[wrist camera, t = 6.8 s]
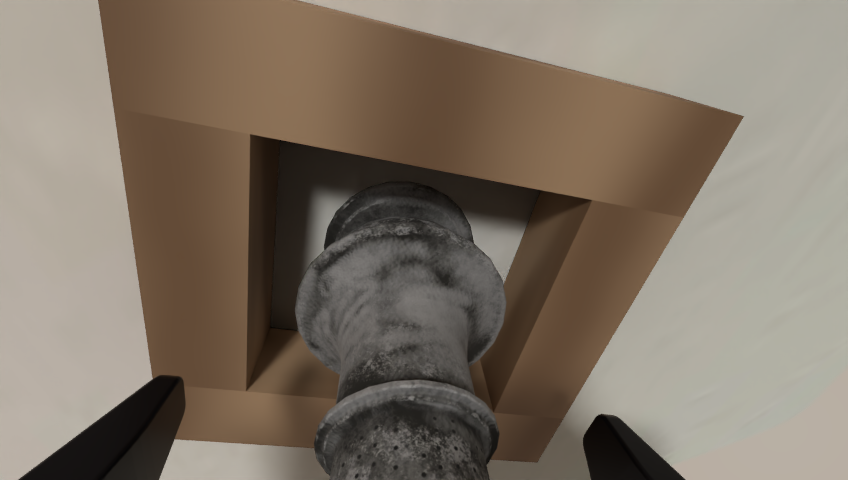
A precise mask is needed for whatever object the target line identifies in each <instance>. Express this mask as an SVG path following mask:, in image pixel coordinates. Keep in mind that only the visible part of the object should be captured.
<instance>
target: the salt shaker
mask: <svg viewBox="0 0 848 480" xmlns="http://www.w3.org/2000/svg"><path fill="white" fill-rule="evenodd" d="M506 303H507V302H506V296H505V291H504V286H503V281H502V279H501V277H500V275H499V273H498V271H497V270H496V268H495V266H494V264H493V263H492V261H491V259H490V258H489V257H488V256H487V255H486V254H485V253H484V252H482V251H481V250H480V249H479V248H478V247H477V246H476V245H475V244H474V241H473V236H472V232H471V227H470V224H469V223H468V221H467V219H466V217H465V216H464V214H463V212H462V210H461V209H460V208H459V207H458V206H457V205H456V204H455V203H454V202H453V201H452V200H451V199H450V198H449V197H448V196H446V195H444V194H442V193H440V192H438V191H436V190H435V189H433V188H431V187H428V186H424V185H420V184H415V183H411V182H388V183H384V184H380V185H376V186H373V187H369V188H367V189H365V190H363V191H361V192H360V193H358V194H356V195H354V196H352V197H351V198H349V199H348V200H347V201H346V202H345V203H344V204H343V205H342V206H341V207H340V208H339V209H338V210H337V211H336V213H335V215H334V217H333V219H332V221H331V223H330V224H329V226H328V229H327V233H326V239H325V244H324V251H323V252H322V253H321V254H320V255H319V256H318V257H317V258H316V259H315V260H314V261H313V262H312V263H311V264H310V266H309V268H308V270H307V272H306V273H305V275H304V277H303V279H302V281H301V283H300V284H299V287H298V293H297V299H296V305H295V314H296V319H297V325H298V330H299V333H300V335H301V336H302V338H303V340H304V342H305V344H306V345H307V347H308V349H309V351H310V352H311V353H312V354H313V355H314V356H315V357H317V358H318V359H319V360H320V361H321V362H322V363H323V364H324V365H325V366H326V367H327V368H329V369H331V370H332V371H334V372H336V373H337V374H339V375H340V377H339V385H338V392H337V399H336V405H335V406H334V407H332V408H331V409H330V410H329V411H328V412H327V413H326V415H325V416H324V418H323V419H322V420H321V422H320V423H319V425H318V428H317V432H316V436H315V440H314V448H315V453H316V458H317V460H318V462H319V463H320V464H321V466H322V467H323V469H324V470H325V472H326V473H327V474H329V475H330V480H490V479H489V474H488V470H487V464H488V462H489V461H490V459H491V458H492V456H493V454H494V453H495V451H496V449H497V446H498V440H499V435H500V433H499V429H498V426H497V422H496V418H495V415H494V414H493V412H492V411H491V410H490V409H489V407H488V406H487V405H486V403H485V402H484V401H482V400H481V399H479V398H478V397H476V396H475V392H474V388H473V383H472V379H471V374H470V370H469V367H470V366H471V365H472V364H474V363H475V362H477V361H478V360H479V359H480V358H481V357H482V356H483V355H484V354H485V352H486V351H487V350H488V349H489V348H490V347H491V346H492V344H493V343H494V342H495V340H496V338H497V336H498V334H499V332H500V329H501V327H502V325H503V323H504V317H505V310H506Z"/></svg>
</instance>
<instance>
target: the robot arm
mask: <svg viewBox="0 0 848 480" xmlns="http://www.w3.org/2000/svg"><path fill="white" fill-rule="evenodd" d="M185 407H186V400H185V389H184V381H183V378H182V377H180V376H173V375H159V376H157V377H155V378H154V379H152V380H151V381H150V382H148V383H147V384H146V385H144V386H143V387H142V388H140V389H139V390H137V391H136V392H135V393H133V394H132V395H131V396H129V397H128V398H127V399H125V400H124V401H123V402H121V403H120V404H119V405H117V406H116V407H115V408H113V409H112V410H111V411H109V412H108V413H107V414H105V415H104V416H103V417H101V418H100V419H99V420H97V421H96V422H95V423H93V424H92V425H91V426H89V427H88V428H87V429H85V430H84V431H83V432H81V433H80V434H79V435H77V436H76V437H75V438H73V439H72V440H71V441H69V442H68V443H67V444H65V445H64V446H63V447H61V448H60V449H59V450H57V451H56V452H55V453H53V454H52V455H51V456H49V457H48V458H47V459H45V460H44V461H43V462H41V463H40V464H39V465H37V466H36V467H35V468H33V469H32V470H31V471H29V472H28V473H27V474H25V475H24V476H23V477H21V478H20V479H19V480H159V478H160V476H161V473H162V470H163V468H164V465H165V463H166V460H167V457H168V455H169V452H170V450H171V447H172V444H173V442H174V439H175V437H176V434H177V431H178V429H179V426H180V424H181V421H182V418H183V416H184V412H185ZM583 446H584V451H585V455H586V459H587V464H588V468H589V472H590V477H591V480H685V479H684V478H683V477H682V476H681V475H680V474H679V473H678V472H677V471H676V470H674V469H673V468H672V467H671V466H670V465H669V464H668V463H667V462H666V461H665V460H664V459H663V458H662V457H661V456H659V455H658V454H657V453H656V452H655V451H654V450H653V449H652V448H651V447H650V446H649V445H648V444H647V443H645V442H644V441H643V440H642V439H641V438H640V437H639V436H638V435H637V434H636V433H635V432H634V431H633V430H632V429H630V428H629V427H628V426H627V425H626V424H625V423H624V422H623V421H622V420H621V419H620V418H618V417H617V416H614V415H606V414H600V415H598V416H596V418H595V419H594V421H593V422H592V424H591V425H590V427H589V428H588V430H587V431H586V433H585V435H584V438H583Z"/></svg>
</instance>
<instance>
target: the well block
mask: <svg viewBox="0 0 848 480" xmlns="http://www.w3.org/2000/svg"><path fill="white" fill-rule="evenodd" d="M98 2H99V9H100V16H101V23H102V30H103V37H104V44H105V51H106V58H107V65H108V71H109V78H110V85H111V92H112V99H113V106H114V113H115V120H116V127H117V134H118V141H119V148H120V155H121V162H122V169H123V176H124V183H125V189H126V196H127V203H128V210H129V217H130V224H131V231H132V238H133V245H134V252H135V259H136V266H137V273H138V280H139V287H140V294H141V300H142V307H143V314H144V321H145V328H146V335H147V342H148V349H149V356H150V363H151V370H152V377H153V379H154V378H155V377H157V376H159V375H173V376H180V377H182V378H183V381H184V389H185V400H186V407H185V412H184V416H183V418H182V421H181V424H180V426H179V429H178V431H177V434H176V437H175V439H180V440H195V441H211V442H226V443H242V444H257V445H273V446H289V447H304V448H314V440H315V436H316V432H317V428H318V425H319V423H320V422H321V420H322V419H323V418H324V416H325V415H326V413H327V412H328V411H329V410H330V409H331V408H332V407H334V406H335V405H336V399H337V392H338V385H339V377H340V375H339V374H337V373H336V372H334V371H332V370H331V369H329V368H327V367H326V366H325V365H324V364H323V363H322V362H321V361H320V360H319V359H318V358H317V357H315V356H314V355H313V354H312V353H311V352H310V351H309V349H308V347H307V345H306V344H305V342H304V340H303V338H302V336H301V335H300V333H299V331H293V330H284V329H276V328H270V322H271V303H272V283H273V264H274V245H275V226H276V206H277V187H278V168H279V149H280V140H283V141H288V142H294V143H299V144H304V145H309V146H314V147H320V148H325V149H330V150H335V151H340V152H345V153H351V154H356V155H361V156H366V157H371V158H377V159H382V160H387V161H392V162H397V163H403V164H408V165H413V166H418V167H423V168H429V169H434V170H439V171H444V172H449V173H455V174H460V175H465V176H470V177H475V178H481V179H486V180H491V181H496V182H501V183H507V184H512V185H517V186H522V187H527V188H532V189H538V190H541V191H540V194H539V197H538V199H537V202H536V204H535V207H534V209H533V212H532V214H531V217H530V220H529V222H528V225H527V227H526V230H525V232H524V235H523V237H522V240H521V242H520V245H519V248H518V250H517V253H516V255H515V258H514V260H513V263H512V265H511V268H510V270H509V273H508V276H507V278H506V281H505V283H504V291H505V296H506V302H507V303H506V310H505V317H504V323H503V325H502V327H501V329H500V332H499V334H498V336H497V338H496V340H495V342H494V343H493V344H492V346H491V347H490V348H489V349H488V350H487V351H486V352H485V354H484V355H483V356H482V357H481V358H480V359H479V360H478V361H477V362H475V363H474V364H472V365H471V366H470V367H469V370H470V374H471V379H472V383H473V388H474V392H475V396H476V397H478V398H479V399H481V400H482V401H484V402H485V403H486V405H487V406H488V407H489V409H490V410H491V411H492V412H493V414H494V415H495V418H496V422H497V426H498V429H499V433H500V435H499V440H498V446H497V449H496V451H495V453H494V454H493V456H492V458H491V460H506V461H522V462H538V460H539V458H540V457H541V455H542V453H543V452H544V450H545V448H546V447H547V445H548V443H549V442H550V440H551V438H552V437H553V435H554V433H555V432H556V430H557V428H558V427H559V425H560V423H561V422H562V420H563V418H564V417H565V415H566V413H567V412H568V410H569V408H570V407H571V405H572V403H573V402H574V400H575V398H576V397H577V395H578V393H579V392H580V390H581V388H582V387H583V385H584V383H585V382H586V380H587V378H588V376H589V375H590V373H591V371H592V370H593V368H594V366H595V365H596V363H597V361H598V360H599V358H600V356H601V355H602V353H603V351H604V350H605V348H606V346H607V345H608V343H609V341H610V340H611V338H612V336H613V335H614V333H615V331H616V330H617V328H618V326H619V325H620V323H621V321H622V320H623V318H624V316H625V315H626V313H627V311H628V310H629V308H630V306H631V305H632V303H633V301H634V300H635V298H636V296H637V294H638V293H639V291H640V289H641V288H642V286H643V284H644V283H645V281H646V279H647V278H648V276H649V274H650V273H651V271H652V269H653V268H654V266H655V264H656V263H657V261H658V259H659V258H660V256H661V254H662V253H663V251H664V249H665V248H666V246H667V244H668V243H669V241H670V239H671V238H672V236H673V234H674V233H675V231H676V229H677V228H678V226H679V224H680V223H681V221H682V219H683V218H684V216H685V214H686V212H687V211H688V209H689V207H690V206H691V204H692V202H693V201H694V199H695V197H696V196H697V194H698V192H699V191H700V189H701V187H702V186H703V184H704V182H705V181H706V179H707V177H708V176H709V174H710V172H711V171H712V169H713V167H714V166H715V164H716V162H717V161H718V159H719V157H720V156H721V154H722V152H723V151H724V149H725V147H726V146H727V144H728V142H729V141H730V139H731V137H732V136H733V134H734V132H735V130H736V129H737V127H738V125H739V124H740V122H741V120H742V119H743V117H744V116H741V115H737V114H734V113H731V112H727V111H724V110H720V109H717V108H714V107H710V106H707V105H703V104H700V103H697V102H693V101H690V100H686V99H683V98H680V97H676V96H673V95H669V94H666V93H662V92H658V91H654V90H650V89H646V88H642V87H638V86H634V85H630V84H626V83H622V82H618V81H614V80H610V79H606V78H602V77H598V76H594V75H590V74H587V73H583V72H579V71H575V70H571V69H567V68H563V67H559V66H555V65H551V64H547V63H543V62H539V61H535V60H531V59H527V58H523V57H519V56H515V55H511V54H507V53H503V52H500V51H496V50H492V49H488V48H484V47H480V46H476V45H472V44H468V43H464V42H460V41H456V40H452V39H448V38H444V37H440V36H436V35H432V34H428V33H424V32H420V31H416V30H412V29H409V28H405V27H401V26H397V25H393V24H389V23H385V22H381V21H377V20H373V19H369V18H365V17H361V16H357V15H353V14H349V13H345V12H341V11H337V10H333V9H329V8H325V7H322V6H318V5H314V4H310V3H306V2H302V1H298V0H98Z"/></svg>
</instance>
